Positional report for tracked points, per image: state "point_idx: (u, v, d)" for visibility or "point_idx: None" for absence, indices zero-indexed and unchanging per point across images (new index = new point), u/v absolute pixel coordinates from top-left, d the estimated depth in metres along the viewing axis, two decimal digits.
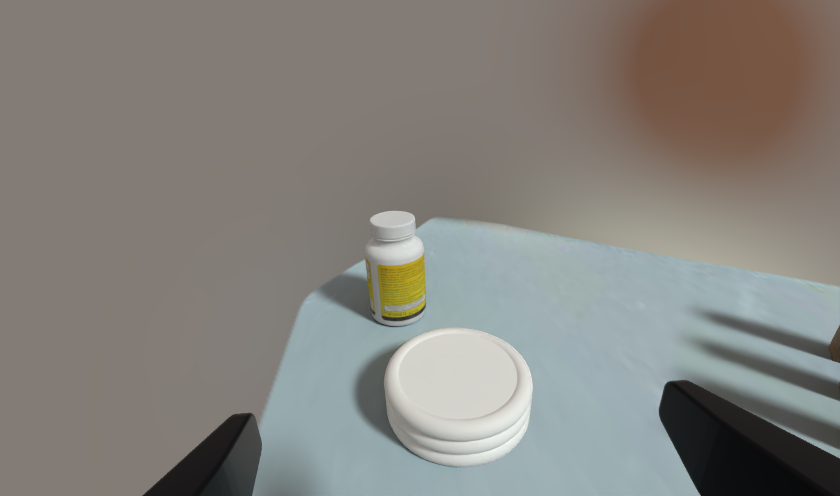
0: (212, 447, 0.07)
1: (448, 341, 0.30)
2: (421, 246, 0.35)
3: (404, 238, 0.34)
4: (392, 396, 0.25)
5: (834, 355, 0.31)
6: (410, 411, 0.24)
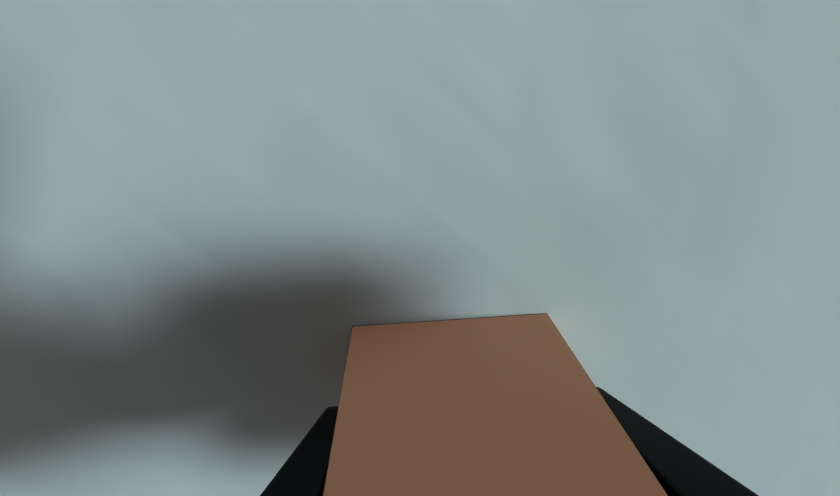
0: (320, 439, 0.07)
1: None
2: None
3: None
4: None
5: None
6: None
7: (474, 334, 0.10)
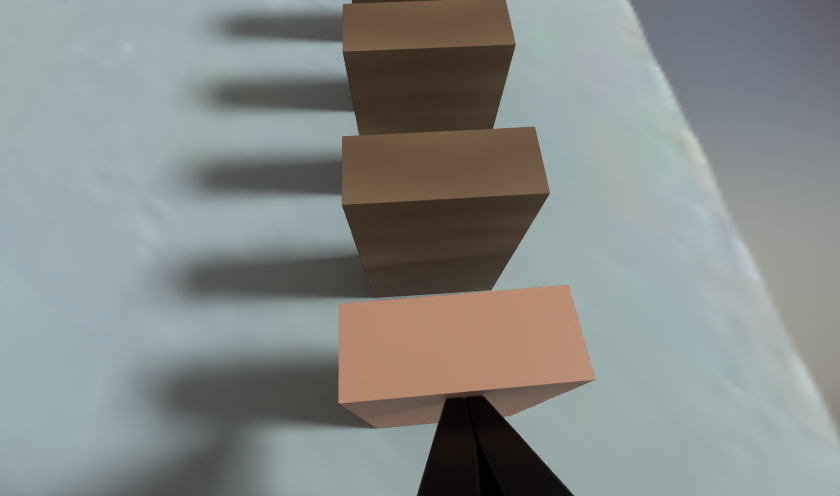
0: (455, 428, 0.07)
1: None
2: None
3: None
4: None
5: None
6: None
7: None
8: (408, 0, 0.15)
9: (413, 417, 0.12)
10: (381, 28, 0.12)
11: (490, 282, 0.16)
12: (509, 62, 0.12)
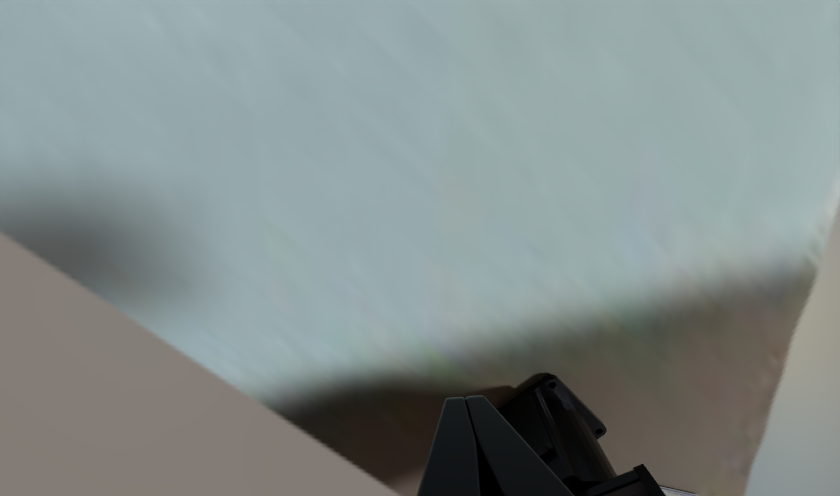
0: (455, 428, 0.07)
1: None
2: None
3: None
4: None
5: None
6: None
7: None
8: None
9: None
10: None
11: None
12: None
